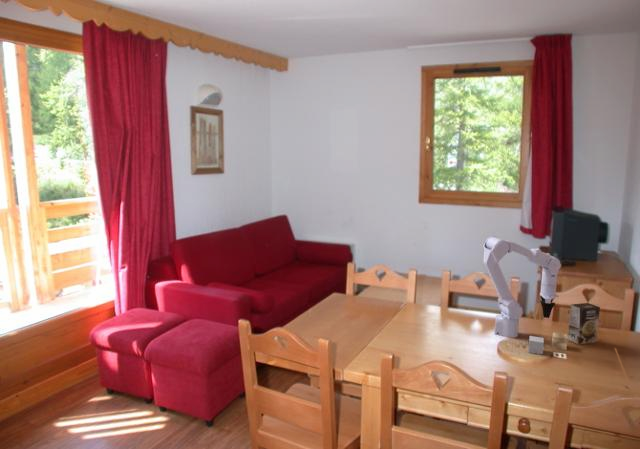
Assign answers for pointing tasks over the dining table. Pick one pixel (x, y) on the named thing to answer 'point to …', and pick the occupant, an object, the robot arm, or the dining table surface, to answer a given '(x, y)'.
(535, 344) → the grey block
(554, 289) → the robot arm
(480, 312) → the dining table surface
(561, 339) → the maple block
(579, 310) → the coffee box
